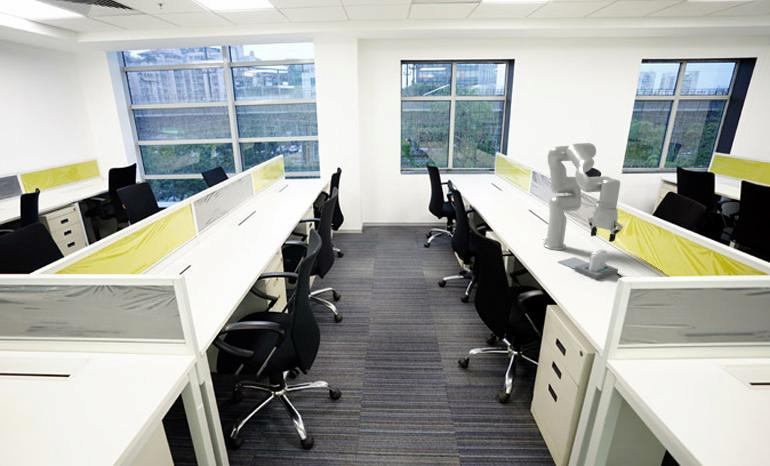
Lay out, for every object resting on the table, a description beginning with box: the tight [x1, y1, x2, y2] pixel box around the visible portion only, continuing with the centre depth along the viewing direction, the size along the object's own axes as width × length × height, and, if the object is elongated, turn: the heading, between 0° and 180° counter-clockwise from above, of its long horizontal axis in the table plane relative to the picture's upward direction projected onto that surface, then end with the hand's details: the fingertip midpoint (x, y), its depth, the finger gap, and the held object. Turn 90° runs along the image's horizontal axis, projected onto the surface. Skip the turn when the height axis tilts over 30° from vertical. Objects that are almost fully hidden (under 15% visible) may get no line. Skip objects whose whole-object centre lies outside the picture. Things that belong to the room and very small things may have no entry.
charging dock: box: [574, 262, 619, 281], centre depth 186 cm, size 12×16×3 cm
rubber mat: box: [557, 256, 589, 270], centre depth 197 cm, size 10×13×1 cm
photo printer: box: [588, 248, 608, 272], centre depth 184 cm, size 10×4×12 cm, turn 123°
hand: (602, 238), depth 180 cm, fingers open, 9 cm apart
